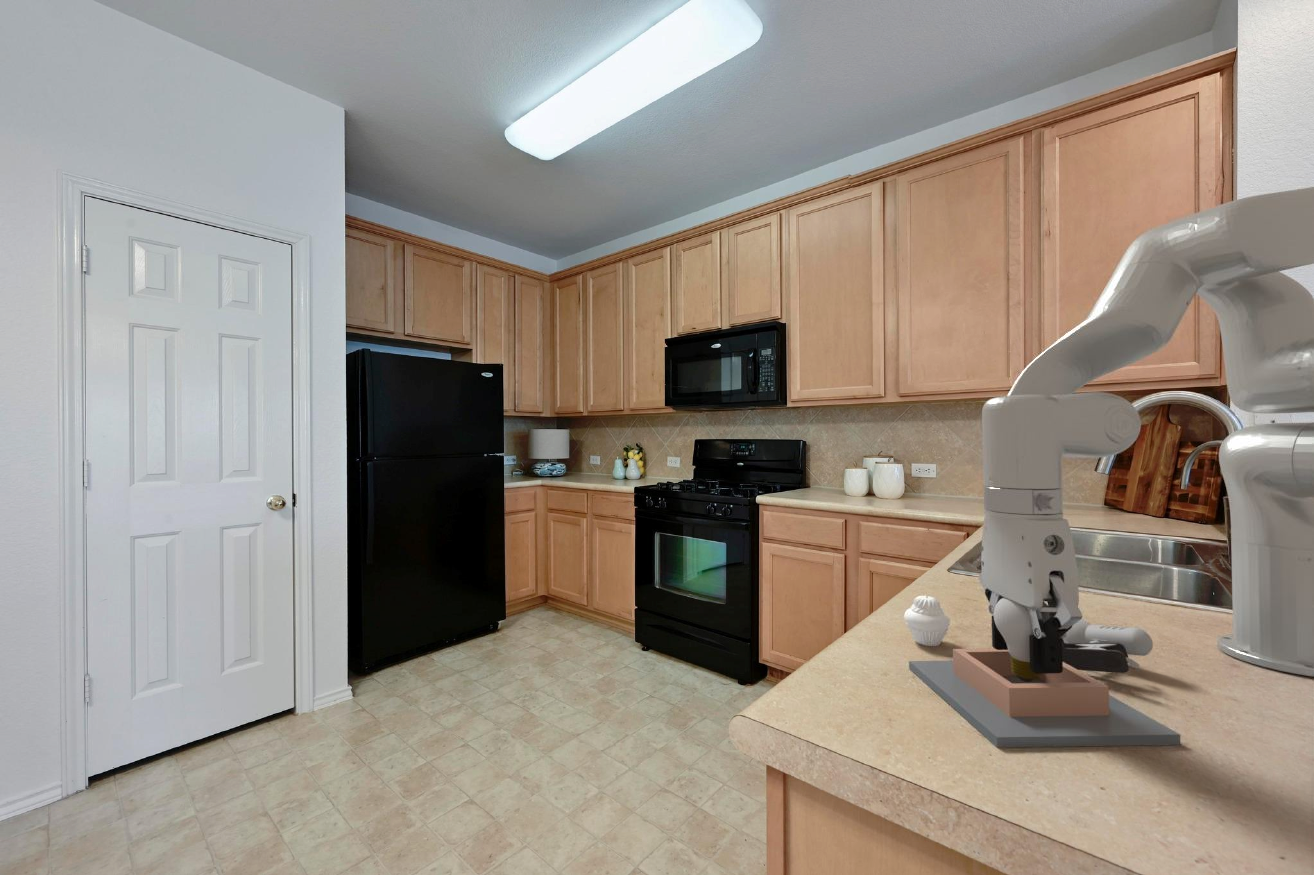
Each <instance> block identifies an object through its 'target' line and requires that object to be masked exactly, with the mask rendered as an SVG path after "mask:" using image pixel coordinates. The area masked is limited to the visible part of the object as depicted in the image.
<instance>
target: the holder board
mask: <svg viewBox="0 0 1314 875" xmlns="http://www.w3.org/2000/svg"><path fill="white" fill-rule="evenodd" d="M1011 664H1012V663H1011V655H1010V653H1009V651H1008V650H996V649H995V648H992V647H990V648H953V649H952V660H909V661H908V669H909V670H910V671H911V672H912V673H913V674H914V675H915V676H917V678H919V679H920V680H921V681H922V682H924V684H926V685H927V686H928V687H929V688H930V689H931V690H932V691H933V692H934V693H936V694H937V695H938V696H939V697H940V698H941V699H943V701H944V702H946V703H947V704H948V705H949V706H950V707H951V708H953V709H954V711H956V712H957V713H958V714H959V715H961V717H962V718H963V719H965V720H966V721H967V722H968V723H969V724H970V725H972V727H974V728H975V729H976V730H977V731H978V732H979V733H980V734H981V735H983V737H985V738H986V739H987V740H988V741H989V742H990V743H991V744H993V745H994V746H995V747H996V748H1046V747H1047V748H1049V747H1050V748H1051V747H1053V748H1056V747H1059V748H1062V747H1112V746H1113V747H1116V746H1117V747H1118V746H1119V747H1121V746H1175V745H1176V746H1180V745H1181V734H1180V733H1178V732H1177V731H1175V730H1173V729H1171V728H1170V727H1168V726H1166V725H1164V724H1162V723H1160V722H1159V721H1157V720H1156V719H1153V718H1152V717H1150V716H1148V715H1146V714H1144V713H1142V712H1140V711H1139V710H1138V709H1135V708H1134V707H1132V706H1130V705H1129V704H1126V703H1125V702H1123V701H1121V700H1119V699H1117V698H1116V697H1114V696H1113V695H1110V686H1109V685H1107V684H1105V683H1103V682H1101V681H1099V680H1098V679H1095V678H1094V677H1092V676H1090V675H1088V674H1087V673H1085V672H1083V671H1082V670H1077V669H1075V668H1073V667H1072V666H1070V665H1068V664H1066V663H1064V662H1063V671H1062V672H1061V673H1049V674H1039V678H1036V679H1034V680H1032V681H1030V682H1025V681H1022V680H1020V679H1019V678H1018V677H1017V676H1016V675H1015V674H1013V673H1012V668H1011V667H1012V666H1011Z"/></svg>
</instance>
